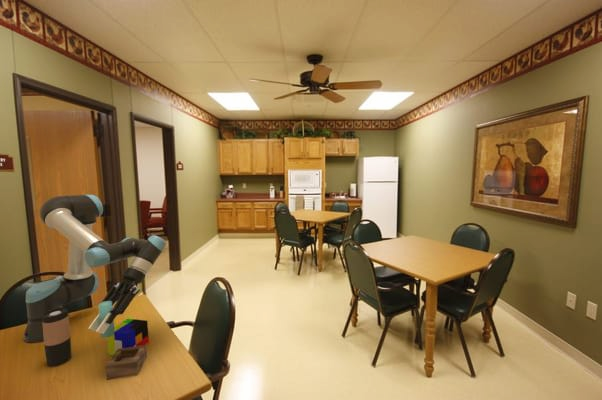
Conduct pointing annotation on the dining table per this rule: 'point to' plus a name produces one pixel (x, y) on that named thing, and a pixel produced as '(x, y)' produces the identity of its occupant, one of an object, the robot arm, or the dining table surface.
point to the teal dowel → (103, 312)
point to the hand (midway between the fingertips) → (95, 331)
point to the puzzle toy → (128, 335)
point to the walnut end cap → (126, 362)
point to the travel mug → (56, 336)
